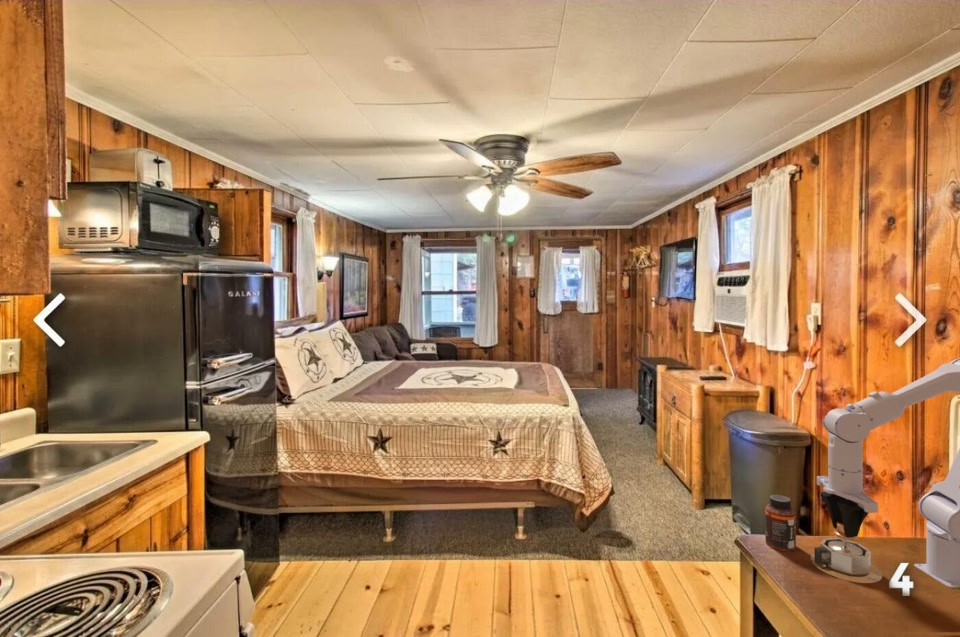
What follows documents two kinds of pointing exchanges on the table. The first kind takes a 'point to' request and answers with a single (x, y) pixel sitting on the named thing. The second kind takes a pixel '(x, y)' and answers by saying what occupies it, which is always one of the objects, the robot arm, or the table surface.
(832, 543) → the copper knob
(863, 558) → the grey octagonal base
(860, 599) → the table surface
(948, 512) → the robot arm
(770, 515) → the supplement bottle
